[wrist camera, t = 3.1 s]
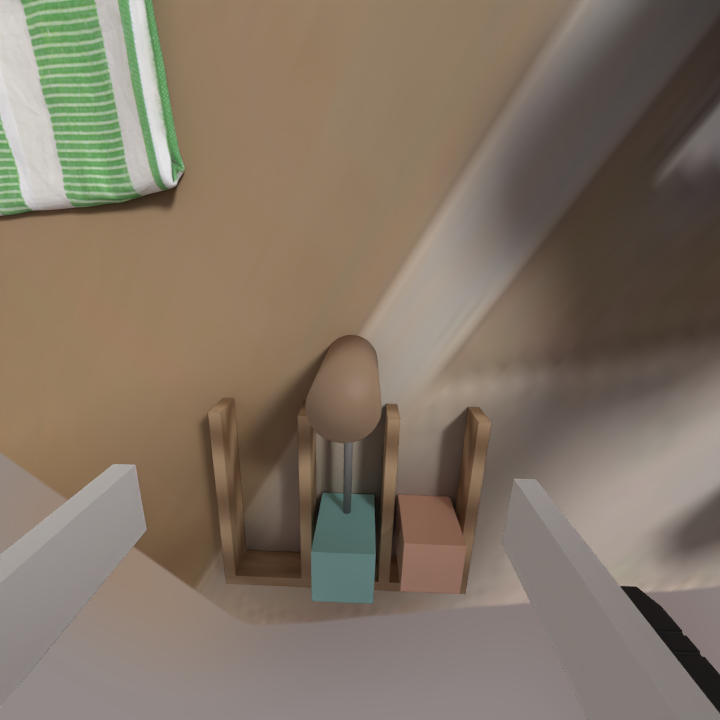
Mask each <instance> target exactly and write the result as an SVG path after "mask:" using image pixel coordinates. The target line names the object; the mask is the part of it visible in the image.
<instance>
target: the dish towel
mask: <svg viewBox="0 0 720 720" xmlns="http://www.w3.org/2000/svg"><path fill="white" fill-rule="evenodd" d="M184 170H185V167H184V164H183V161H182V158H181V155H180V151H179V147H178V142H177V137H176V132H175V126H174V120H173V115H172V110H171V103H170V96H169V91H168V86H167V80H166V72H165V66H164V61H163V55H162V50H161V46H160V40H159V35H158V30H157V25H156V20H155V14H154V9H153V4H152V0H0V216H3V215H14V214H20V213H24V212H29V211H36V210H56V209H66V208H74V207H90V206H97V205H102V204H111V203H123V202H126V201H129V200H132V199H135V198H139V197H142V196H145V195H147V194H151V193H155V192H160V191H164V190H169V189H171V188H174V187H175V186H176V185H177V183H178V180H179V179H180V177H181V175H182V174H183V172H184Z"/></svg>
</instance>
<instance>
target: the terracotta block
mask: <svg viewBox="0 0 720 720" xmlns="http://www.w3.org/2000/svg"><path fill="white" fill-rule="evenodd" d="M395 541H396V551H397V561H398V572H399V582H400V591H407V592H429V593H451V594H460V588H461V582H462V575H463V568H464V561H465V554H466V548H467V545H466V543H465V540H464V537H463V534H462V531H461V528H460V525H459V522H458V519H457V517H456V514H455V511H454V508H453V505H452V502H451V499H450V497H445V496H420V495H398V503H397V517H396V531H395Z"/></svg>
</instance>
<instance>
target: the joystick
mask: <svg viewBox="0 0 720 720" xmlns="http://www.w3.org/2000/svg"><path fill="white" fill-rule="evenodd" d="M305 410H306V416H307V419H308V421H309V423H310V425H311V426H312V428H313V429H314V430H315V431H316V432H317V433H318V434H319V435H321V436H322V437H324V438H326V439H328V440H330V441H333V442H338V443H344V489H343V493H323V494H322V499H321V504H320V509H319V514H318V519H317V525H316V530H315V535H314V540H313V545H312V550H311V579H312V601H324V602H346V603H368V604H373V597H374V578H375V559H376V546H375V507H374V495H370V494H351V486H352V448H353V442H355V441H358V440H361V439H363V438H365V437H366V436H368V435H369V434H370V433H371V432H372V431H373V430H374V429H375V428H376V426H377V424H378V422H379V420H380V417H381V411H382V408H381V395H380V384H379V373H378V363H377V355H376V351H375V349H374V347H373V346H372V345H371V343H369V342H368V341H367V340H366V339H364V338H362V337H359V336H355V335H348V336H343V337H341V338H339V339H337V340H336V341H334V342H333V343H332V344H331V346H330V347H329V349H328V351H327V353H326V356H325V358H324V360H323V362H322V364H321V367H320V369H319V371H318V373H317V375H316V377H315V380H314V382H313V384H312V386H311V388H310V391H309V393H308V395H307V398H306V404H305Z"/></svg>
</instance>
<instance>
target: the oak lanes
mask: <svg viewBox="0 0 720 720" xmlns="http://www.w3.org/2000/svg"><path fill="white" fill-rule="evenodd" d="M305 404H306V401H304V403H303V405H302V407H301V409H300V411H299V414H298V456H299V497H300V538H301V552H279V551H255V550H246V540H245V527H244V515H243V503H242V490H241V478H240V465H239V453H238V441H237V428H236V416H235V403H234V399H232V398H223V399H222V400H221V401H220V402H218V403H217V404H216V405H215V406H214V407H213V408H212V409H211V410H210V411H209V412H208V418H209V427H210V437H211V446H212V456H213V465H214V475H215V484H216V494H217V503H218V513H219V522H220V532H221V541H222V551H223V560H224V570H225V579H226V583H227V584H250V585H272V586H295V587H312V579H311V550H312V545H313V540H314V535H315V530H316V431H315V430H314V429H313V428H312V426H311V425H310V423H309V421H308V419H307V416H306V410H305ZM490 428H491V422H490V421H489V419H488V418H487V417H486V415H485V414H484V413H483V411H482V410H481V409H480V408H478V407H468V413H467V421H466V429H465V437H464V444H463V452H462V460H461V468H460V475H459V483H458V491H457V499H456V506H455V514H456V517H457V519H458V522H459V525H460V528H461V531H462V534H463V537H464V540H465V543H466V545H467V548H466V554H465V561H464V568H463V575H462V582H461V588H460V594H465V593H466V586H467V580H468V573H469V567H470V560H471V553H472V547H473V540H474V534H475V527H476V521H477V514H478V507H479V501H480V494H481V488H482V481H483V474H484V468H485V461H486V455H487V448H488V442H489V435H490ZM399 431H400V416H399V411H398V406H397V405H396V404H386V414H385V432H384V450H383V468H382V486H381V505H380V523H379V541H378V556H376V559H375V578H374V590H385V591H400V582H399V572H398V561H397V557H395V556H391V547H392V532H393V518H394V503H395V489H396V474H397V460H398V445H399Z"/></svg>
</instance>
